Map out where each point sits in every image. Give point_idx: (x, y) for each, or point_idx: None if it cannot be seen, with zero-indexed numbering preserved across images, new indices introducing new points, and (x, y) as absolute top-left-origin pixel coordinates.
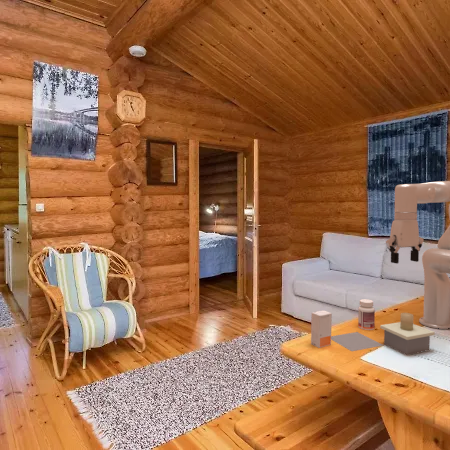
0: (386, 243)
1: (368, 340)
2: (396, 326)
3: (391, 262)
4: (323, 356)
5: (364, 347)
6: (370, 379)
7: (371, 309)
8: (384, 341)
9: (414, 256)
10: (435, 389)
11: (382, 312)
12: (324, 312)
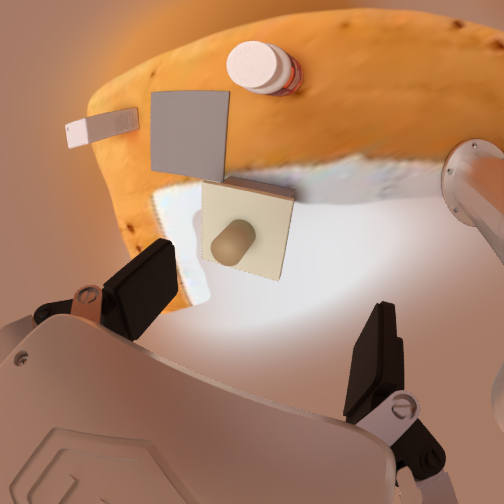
0: (12, 325)
1: (212, 146)
2: (231, 210)
3: (164, 241)
4: (112, 160)
5: (180, 169)
6: (133, 242)
7: (258, 91)
8: (226, 179)
9: (358, 363)
10: (183, 298)
11: (445, 25)
12: (79, 134)
